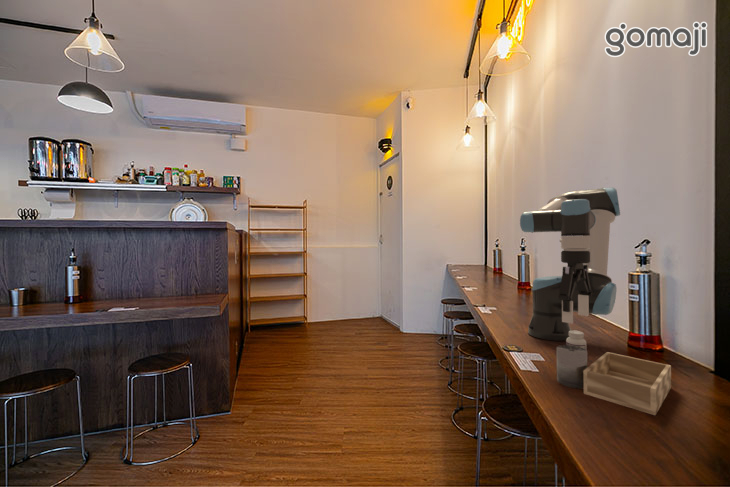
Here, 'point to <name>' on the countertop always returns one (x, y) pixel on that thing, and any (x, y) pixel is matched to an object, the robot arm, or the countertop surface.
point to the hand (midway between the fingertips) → (575, 318)
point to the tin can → (571, 365)
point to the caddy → (628, 381)
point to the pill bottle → (576, 339)
